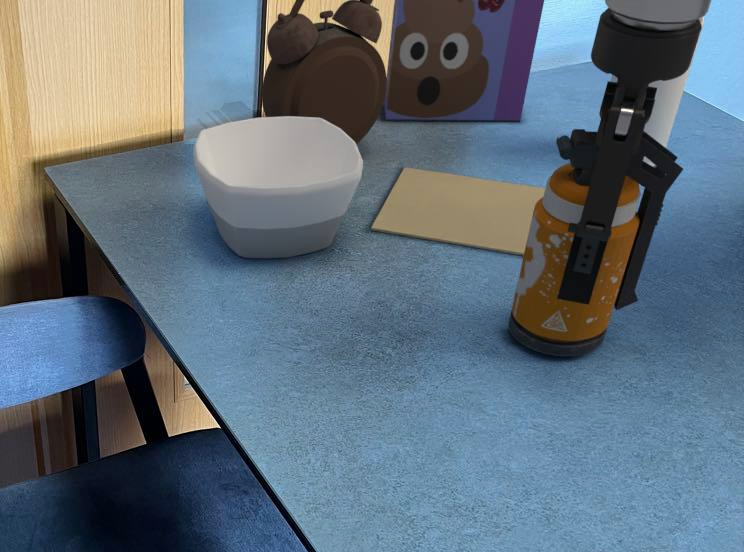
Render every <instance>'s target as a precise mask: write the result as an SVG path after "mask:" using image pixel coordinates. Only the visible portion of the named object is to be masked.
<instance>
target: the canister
mask: <svg viewBox="0 0 744 552" xmlns="http://www.w3.org/2000/svg"><path fill="white" fill-rule="evenodd" d="M597 132H598V131H591V130H590V131H589V130H588V131H587V130H586V129H585V128H574V129H573V130H571V134H570V136H568V135H561V136H560V137H557V138H556V141H555V144H556V147H557V150H558V154H559V156H560V158H561V159H562V160H565V161H568V160H569V163H565V164H563V165H561V166H559V167H558V168H556V169H555V170H554V171H553V172H552V174H551V175H550V176H549V177H548V178H547V181H546V185H545V187H544V188H545V192H544V196H543V197H542V198H541V199H540V200H538V201H537V203H536V204H535V207H534V212H533V216H532V221H531V225H530V229H529V234H528V238H527V243H526V247H525V252H524V256H523V255H522V261H521V266H520V270H519V275H518V279H517V284H516V288H515V291H514V296H513V302H512V306H511V310H510V313H509V319H508V324H507V325H508V330H509V332H510V334H511V335H512V336H513V338H514V339H515V340H516V341H518V342H519V343H520V344H521V345H523V346H525V347H526V348H529V349H531V350H533V351H536V352H538V353H541V354H546V355H552V356H556V357H557V356H558V357H559V356H560V357H575V356H581V355H585V354H589V353H591V352H593V351H595V350H597V349H598V348H599V347H600V346H601V345H602V344H603V342H604V340H605V337H606V334H607V330H608V326H609V324H610V320H611V318H612V314H613V310H614V309H615V311H619V310H621V309H624V308H625V307H627V306H630V305H632V304H635V303H637V302H639V299H638V296H637V294H636V289H637V286H638V282H639V280H640V275H641V273H642V270H643V267H644V263H645V261H646V258H647V254H648V251H649V247H650V245H651V242H652V238H653V235H654V232H655V230H656V226H658V225H659V221H660V217H661V215H662V214H661V213H662V211H663V208H664V206H665V205H664V201H665V198H666V194H667V193H668V191H669V190H670V188H671V187H672V186H673V184H675V182H676V180H677V179H678V177H679V176H680V175H681V174H682V172H683V171H684V168H683V167H682V166H680V165H679V163H677V162H676V161H677V159H678V158H679V156H677V155H676V154H674V152H672V151H670V150H669V149H668V148H667V147H666V148H665V147H664V146H663V145H661V144H660V143H659V142H657V141H656V140H655V139H654V138H652V137H651V136H650V135H648V134H647V133H646V132H645V131H643V134H642V138H641V142H640V145H639V148H638V151H637V153H636V154H635V155H633V156H631V159H630V162H629V166H628V169H627V173H626V177H625V180H624V184H623V187H622V191H621V194H620V198H619V201H618V205H617V209H616V212H615V216H614V219H613V223H612V226H611V228H612V230H611V231H612V233H611V237H609V240H608V242H607V245H606V249H605V252H604V255H603V259H602V262H601V266H600V269H599V272H598V276H597V279H596V282H595V286H594V289H593V293H592V296H591V299H590V303H589V305H588V304H582V303H577V302H571V301H566V300H561V299H557V297H558V293H559V290H560V286H561V282H562V278H563V275H564V271H565V267H566V264H567V260H568V256H569V252H570V249H571V245H572V241H573V238H574V234H575V233H572V232H567V231H568V227H569V223H576V224H577V223H579V222H580V219H581V216H582V212H583V208H584V204H585V201H586V197H587V193H588V190H589V186H590V182H591V178H592V175H593V171H594V167H595V164H596V160H597V156H598V152H597V151H596V150H595V148H594V143H595V139H596V135H597ZM644 156H645V157H646V158H648V159H649V160H650V161H651V162H652V163H654V164H655V165H656V166H654V167H653V166H651V165H649V164H647V163H646V162H644V161H643V159H644ZM640 186H641V187H643V188H644V189H643V192H642V196H641V189H640ZM640 198H641V199H640ZM639 202H640V203H639ZM638 205H639V206H638Z"/></svg>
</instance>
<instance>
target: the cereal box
mask: <svg viewBox="0 0 744 552" xmlns="http://www.w3.org/2000/svg"><path fill="white" fill-rule="evenodd" d="M544 4H545V0H394V2H393V12H392V22H391V31H390V41H389V49H388V50H389V51H388V59H387V69H386V81H387V84H386V94H385V99H384V103H383V111H384V118H385V122H456V123H457V122H460V123H461V122H463V123H466V122H467V123H470V122H471V123H472V122H473V123H474V122H475V123H477V122H478V123H520V122H521V119H522V114H523V110H524V103H525V99H526V94H527V89H528V84H529V79H530V75H531V74H530V73H531V70H532V65H533V59H534V54H535V49H536V44H537V38H538V34H539V29H540V24H541V18H542V14H543V8H544Z"/></svg>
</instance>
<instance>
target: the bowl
mask: <svg viewBox="0 0 744 552" xmlns="http://www.w3.org/2000/svg"><path fill="white" fill-rule="evenodd" d="M192 157H193V161H194V162H193V164H194V168H195V171H196V174H197V176H198V180H199V182H200V185H201V188H202V190H203V193H204V197H205V198H206V201H207V203H208V205H209V208H210V211H211V214H212V216H213V218H214V222H215V224H216V226H217V230H218V232H219V235H220V237H221V239H223V241H224V242H225V244H226V245H227V247H228V248H229V249H231V250H232V251H233V252H234V253H235V254H237V255H238V256H240V257H242V258H246V259H282V258H285V259H286V258H292V257H296V256H303V255H306V254H310V253H314V252H317V251H320V250H323V249H327V248H329V247H330V246H331V244H332V242H333V240H334V238H335V236H336V233H337V231H338V229H339V227H340V224H341V222H342V220H343V218H344V216H345V214H346V212H347V210H348V208H349V206H350V204H351V201H352V199H353V197H354V195H355V192H356V191H357V189H358V186H359V184H360V182H361V180H362V176H363V168H364V160H363V158H362V155H361V152H360V150H359V147H358V145H357V144H356V143H355V141H354V140H352V139H351V138H350V137H349V136H348V135H347V134H346V133H345V132H344V131H343V130H341V129H340V128H339V127H337V126H335V125H333V124H331V123H329V122H328V121H326V120H324V119H322V118H315V117H293V116H284V117H266V116H263V117H253V118H246V119H242V120H241V119H240V120H235V121H229V122H225V123H222V124H218V125H215V126H211V127H207V128H204V129H202V130H200V132H199V134H198V136H197V139H196V141H195V143H194V146H193V149H192Z"/></svg>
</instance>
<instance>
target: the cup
mask: <svg viewBox="0 0 744 552" xmlns="http://www.w3.org/2000/svg"><path fill="white" fill-rule="evenodd" d="M699 20H700V23H701V25H702V29H701V32H700V35H699V38H698V41H697V45H696V48H695V51H694V54H693V57H692V60H691V64H690V67H689V68H688V70H687V71H686V72H685V73H684V74H683V75H681V76H679V77H677V78H675V79H671V80H667V81H662V80H659V81H655V82H652V83H650V84H649V85H648V87H656V88H657V92H656V95H655V103H654V107H653V110H652V114H651V116H650V119H649V121H648V122H647V123H646V124H645V127H644V131H645V132H646V133H647V134H648V135H650V136H651V137H652V138H654V139H655V140H656V141H657V142H659V143H660V144H661V145H663V146H664V147H665V148H666V149H667V146H668V143H669V139H670V136H671V133H672V130H673V126H674V123H675V120H676V116H677V114H678V111H679V106H680V103H681V100H682V97H683V95H684V90H685V87H686V83H687V80H688V77H689V74H690V71H691V68H692V63H693V61H694V58H695V55H696V51H697V47H698V44H699V42H700V38H701V34H702V31H703V28H704V26H705V16H703V17H702V18H700V19H699ZM617 80H618V78H617V77H615V76H614V75H612V74H611V78H610V82H617ZM643 161H644V162H646V163H647V164H649V165H651V166H653V167H656V165H655V164H654V163H652V162H651V161H650V160H649V159H648V158H646V157H645V156H644V159H643Z"/></svg>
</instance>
